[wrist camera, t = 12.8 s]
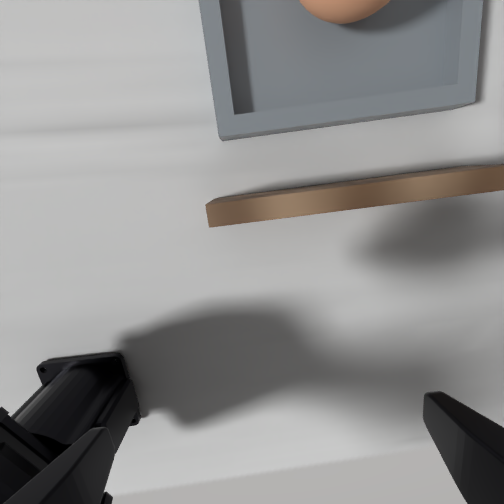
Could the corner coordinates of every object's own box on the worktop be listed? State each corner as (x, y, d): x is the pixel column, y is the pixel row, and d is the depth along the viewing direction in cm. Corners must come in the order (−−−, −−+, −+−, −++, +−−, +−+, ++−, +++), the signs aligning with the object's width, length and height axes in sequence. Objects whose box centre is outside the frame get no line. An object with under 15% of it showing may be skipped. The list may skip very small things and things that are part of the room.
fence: (217, 216, 18) (209, 227, 14) (215, 198, 18) (205, 204, 14) (462, 185, 18) (521, 187, 14) (464, 166, 17) (524, 163, 14)
